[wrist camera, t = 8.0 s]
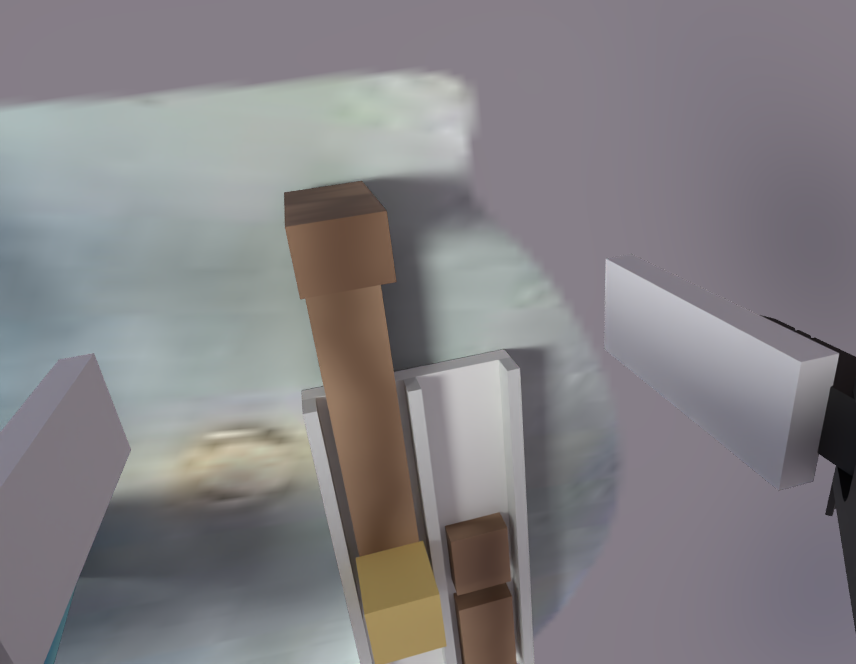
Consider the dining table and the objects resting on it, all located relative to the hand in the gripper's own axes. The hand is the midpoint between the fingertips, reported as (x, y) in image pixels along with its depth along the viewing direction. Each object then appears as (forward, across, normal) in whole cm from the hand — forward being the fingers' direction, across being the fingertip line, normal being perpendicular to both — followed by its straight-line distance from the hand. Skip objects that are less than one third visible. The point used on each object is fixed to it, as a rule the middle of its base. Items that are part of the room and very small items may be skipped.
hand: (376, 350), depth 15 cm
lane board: (+18, +3, -24) cm, 31 cm away
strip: (+17, 0, -14) cm, 22 cm away
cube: (+16, 0, -24) cm, 29 cm away
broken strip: (+17, +6, -30) cm, 35 cm away
